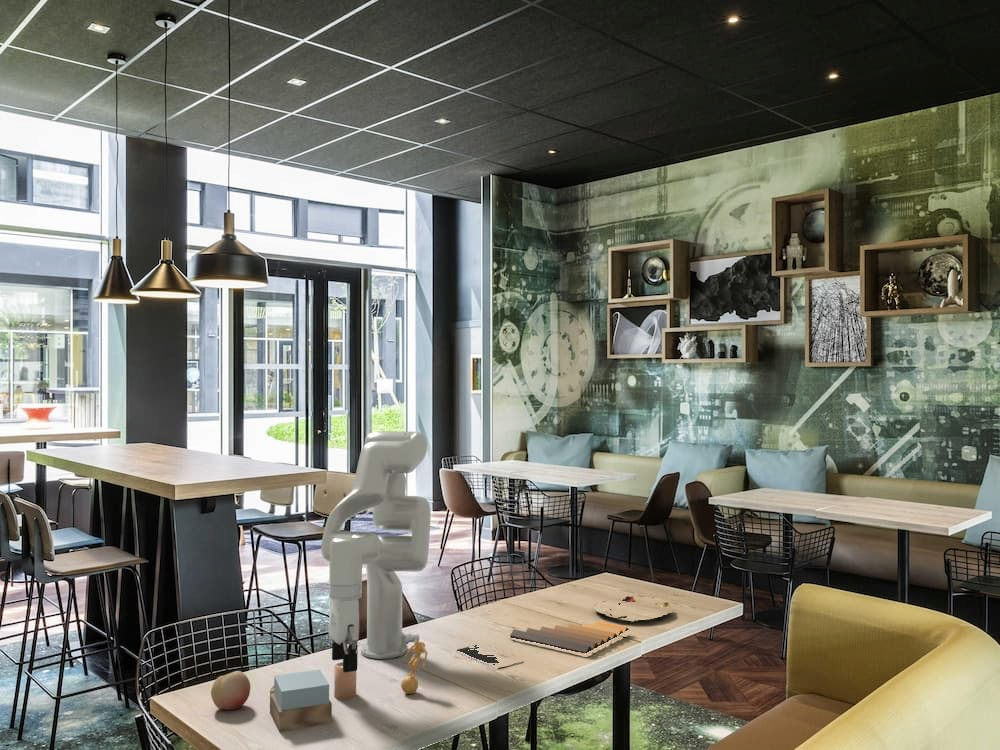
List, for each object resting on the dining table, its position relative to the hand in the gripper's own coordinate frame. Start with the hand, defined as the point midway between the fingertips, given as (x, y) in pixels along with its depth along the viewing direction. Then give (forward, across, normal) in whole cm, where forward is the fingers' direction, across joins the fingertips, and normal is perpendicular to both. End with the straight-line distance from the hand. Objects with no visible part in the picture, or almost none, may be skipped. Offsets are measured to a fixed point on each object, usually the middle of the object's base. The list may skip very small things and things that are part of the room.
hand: (344, 665), depth 184 cm
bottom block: (+8, +7, -12) cm, 16 cm away
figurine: (+7, +4, +16) cm, 18 cm away
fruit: (+8, -5, -24) cm, 26 cm away
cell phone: (+7, -11, +43) cm, 44 cm away
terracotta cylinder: (+7, -1, +1) cm, 7 cm away
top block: (+4, +8, -12) cm, 14 cm away
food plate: (+5, -28, +102) cm, 105 cm away
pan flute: (+6, -15, +71) cm, 72 cm away
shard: (+8, -12, -12) cm, 18 cm away
